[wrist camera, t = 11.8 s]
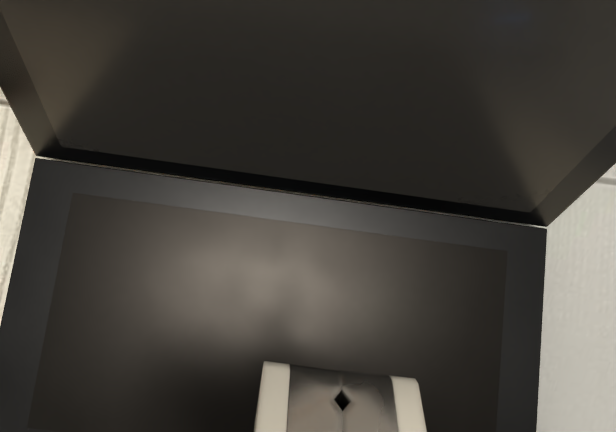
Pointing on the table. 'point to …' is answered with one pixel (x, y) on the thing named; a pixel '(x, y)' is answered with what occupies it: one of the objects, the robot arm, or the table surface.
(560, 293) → the table surface
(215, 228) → the notebook
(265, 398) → the robot arm
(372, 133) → the notebook screen
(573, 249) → the table surface
